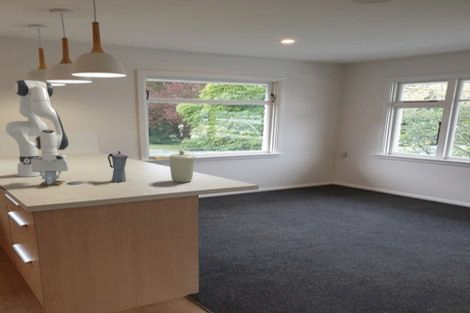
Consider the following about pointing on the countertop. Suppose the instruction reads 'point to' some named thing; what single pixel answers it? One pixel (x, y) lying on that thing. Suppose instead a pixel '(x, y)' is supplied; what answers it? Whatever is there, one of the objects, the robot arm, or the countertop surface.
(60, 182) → the holder
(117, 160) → the moka pot
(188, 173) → the canister
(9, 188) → the countertop surface
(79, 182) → the mat
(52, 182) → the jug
